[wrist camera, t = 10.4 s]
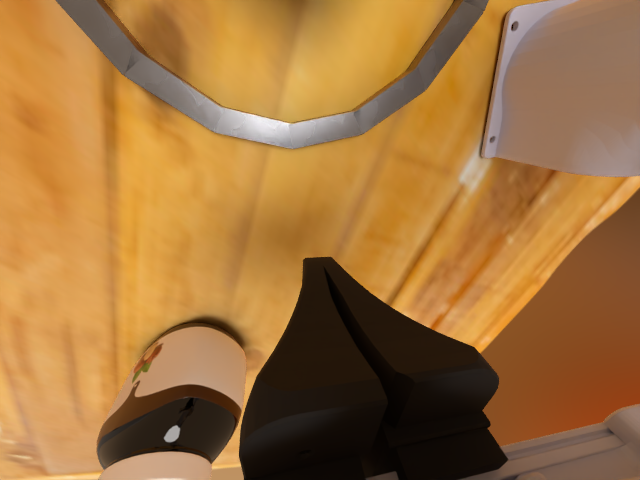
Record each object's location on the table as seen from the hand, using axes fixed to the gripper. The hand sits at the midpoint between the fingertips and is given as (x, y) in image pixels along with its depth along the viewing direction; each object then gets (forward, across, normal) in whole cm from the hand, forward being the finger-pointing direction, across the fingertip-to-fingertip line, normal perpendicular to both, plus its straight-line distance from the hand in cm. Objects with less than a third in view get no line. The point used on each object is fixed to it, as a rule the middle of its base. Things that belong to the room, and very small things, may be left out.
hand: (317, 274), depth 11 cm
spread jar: (+10, +10, +18) cm, 23 cm away
